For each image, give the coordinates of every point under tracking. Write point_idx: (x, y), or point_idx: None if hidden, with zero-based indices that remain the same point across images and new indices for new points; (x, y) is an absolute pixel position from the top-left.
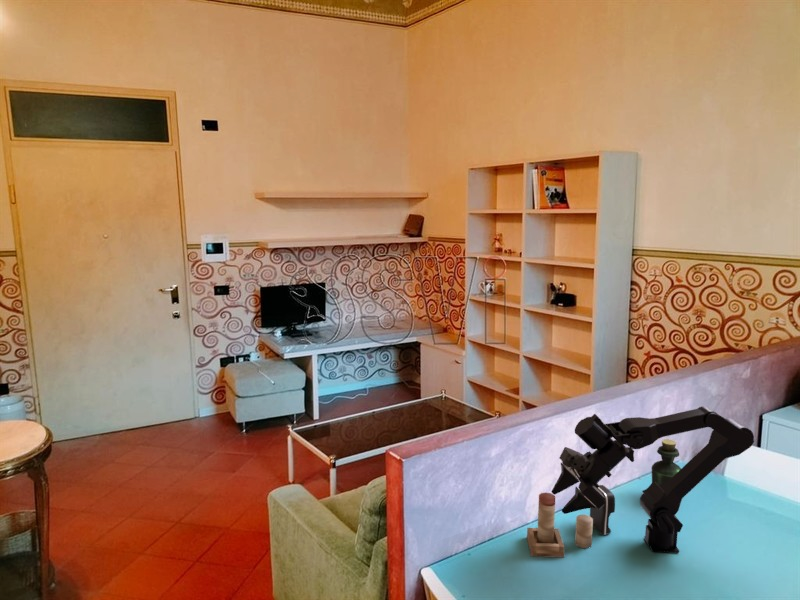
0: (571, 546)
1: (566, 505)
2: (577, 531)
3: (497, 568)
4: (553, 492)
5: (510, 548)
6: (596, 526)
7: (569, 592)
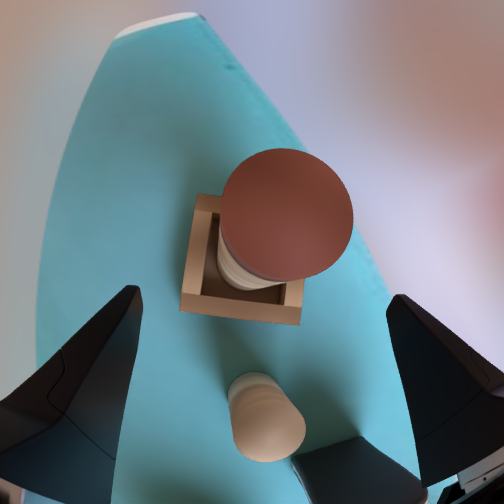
0: (242, 354)
1: (105, 319)
2: (252, 387)
3: (160, 109)
4: (393, 306)
5: (244, 157)
6: (325, 452)
7: (42, 265)
